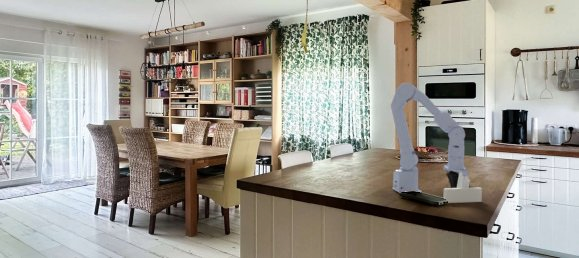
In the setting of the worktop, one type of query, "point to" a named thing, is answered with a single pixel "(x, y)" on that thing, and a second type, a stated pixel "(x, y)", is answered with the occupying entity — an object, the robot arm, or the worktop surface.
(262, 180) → the worktop surface
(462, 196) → the wall panel
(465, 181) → the white wedge bracket
